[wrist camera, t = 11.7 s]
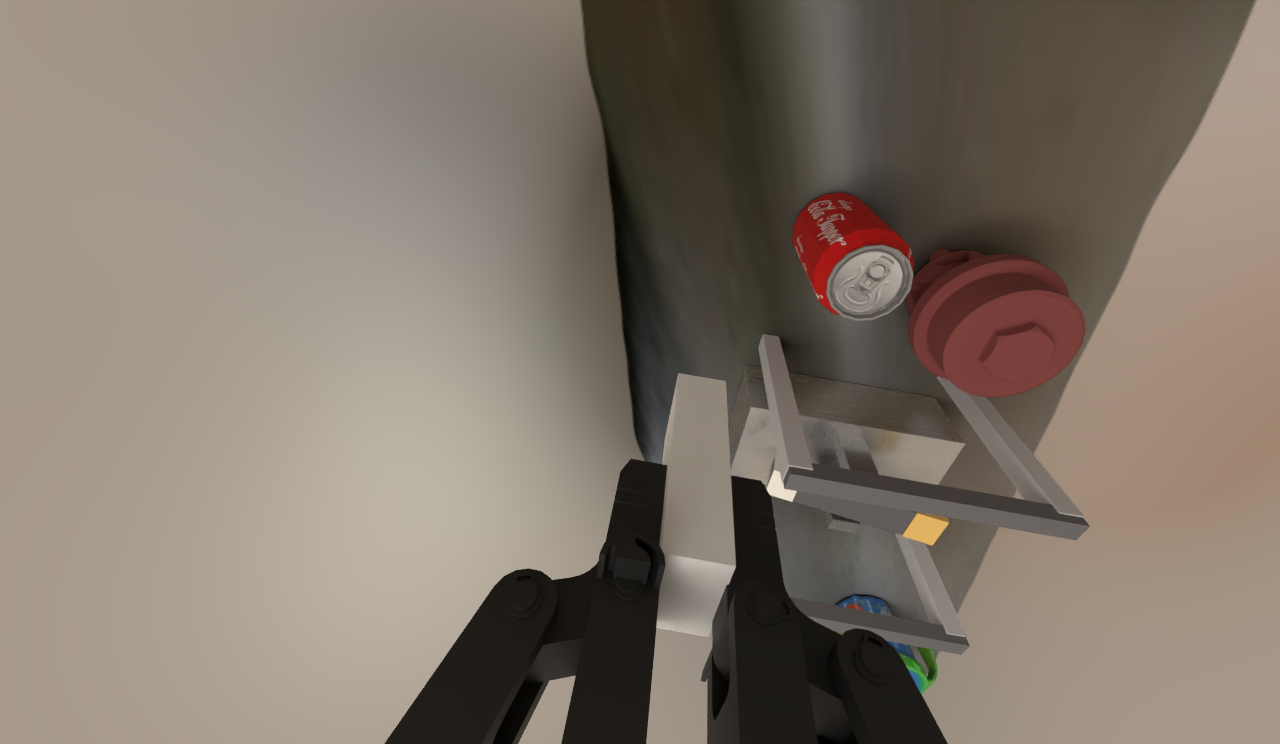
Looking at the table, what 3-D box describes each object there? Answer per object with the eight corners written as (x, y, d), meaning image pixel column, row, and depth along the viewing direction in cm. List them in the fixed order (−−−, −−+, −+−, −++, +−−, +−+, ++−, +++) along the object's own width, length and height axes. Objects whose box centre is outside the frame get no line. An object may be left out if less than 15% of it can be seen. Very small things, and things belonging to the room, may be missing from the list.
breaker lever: (775, 454, 42) (774, 470, 41) (943, 503, 40) (949, 522, 38) (766, 477, 44) (764, 493, 42) (927, 526, 41) (932, 545, 40)
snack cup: (933, 600, 65) (967, 681, 57) (894, 639, 71) (919, 717, 62) (823, 574, 65) (840, 651, 56) (793, 614, 71) (804, 690, 62)
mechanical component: (909, 217, 39) (1034, 234, 39) (864, 325, 44) (973, 341, 44) (982, 273, 29) (1152, 298, 28) (911, 404, 34) (1053, 426, 34)
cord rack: (762, 333, 46) (790, 472, 31) (961, 366, 46) (1091, 525, 30) (724, 457, 55) (731, 612, 40) (889, 486, 55) (960, 655, 39)
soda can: (835, 276, 42) (874, 343, 32) (775, 243, 41) (797, 302, 31) (886, 213, 39) (947, 266, 29) (822, 175, 38) (863, 216, 28)
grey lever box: (745, 365, 48) (756, 448, 38) (934, 396, 48) (997, 490, 37) (725, 433, 53) (729, 523, 43) (895, 462, 53) (941, 561, 42)
